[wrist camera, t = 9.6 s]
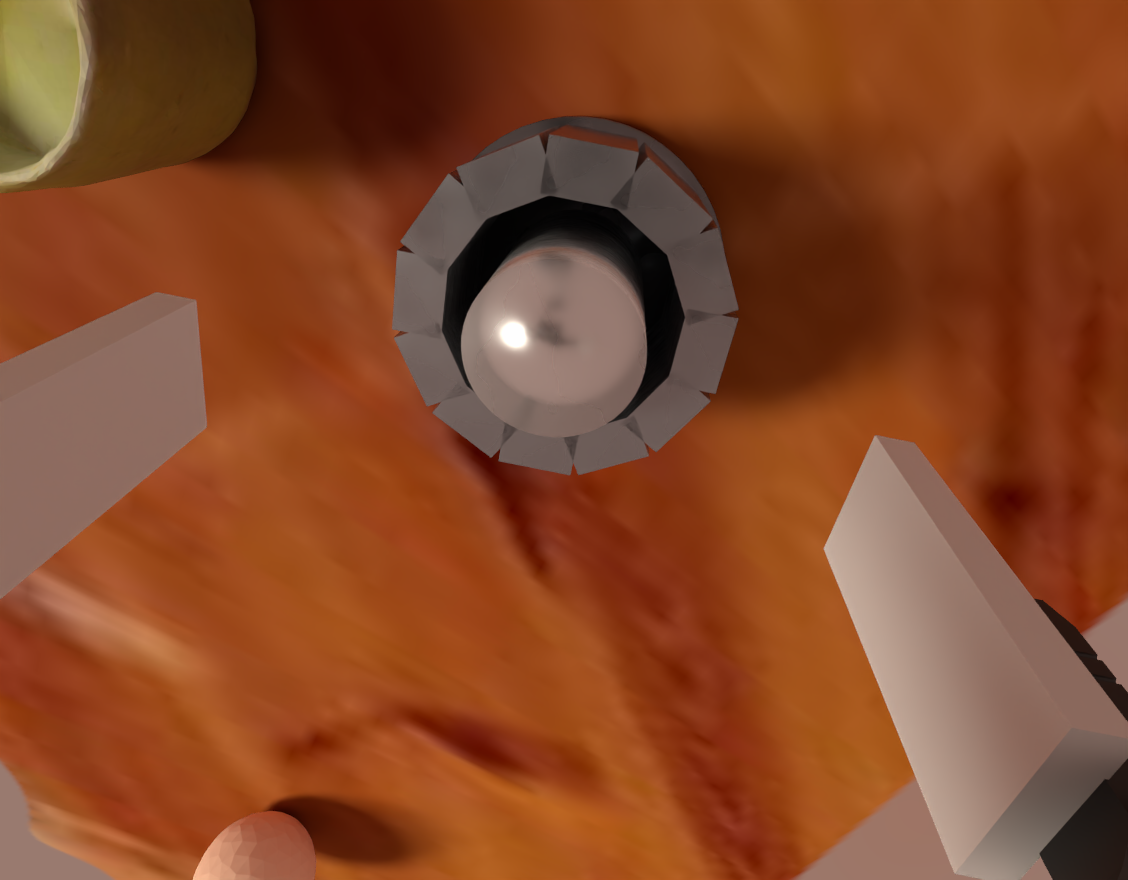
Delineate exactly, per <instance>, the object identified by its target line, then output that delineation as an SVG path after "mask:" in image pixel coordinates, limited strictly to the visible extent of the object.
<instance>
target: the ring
mask: <svg viewBox="0 0 1128 880" xmlns="http://www.w3.org/2000/svg"><path fill="white" fill-rule="evenodd" d="M456 168H457V170H455V171H453V172H451V173H449V174H448V175H447V177H446V178H445V179H444V181H443V182H442V184H441V185H440V186H439V188H438V189H437V191H436V192H435V193H434V195H433V196H432V198H431V199H430V201H429V202H428V203H427V205H426V206H425V208H424V209H423V210H422V212H421V213H420V215H419V216H418V217H417V219H416V220H415V222H414V223H413V224H412V226H411V227H410V229H409V230H408V231H407V233H406V234H405V236H404V237H403V239H402V240H401V241H400V242H401V243H402V244H404V246H403V247H401V248H400V249H398V250H397V263H396V278H395V294H394V310H393V326H392V329H393V330H398V331H400V332H399V333H398V334H397V335H396V336H395V337H394V339H395V341H396V343H397V345H398V347H399V349H400V351H401V353H402V356H403V358H404V360H405V362H406V364H407V366H408V368H409V370H410V372H411V374H412V376H413V378H414V380H415V383H416V385H417V387H418V389H419V391H420V393H421V395H422V397H423V399H424V401H425V403H426V405H427V406H430V405H433V404H436V403H438V404H437V406H436V408H435V409H434V411H433V412H432V413H433V414H434V415H436V416H437V417H438V418H440V419H441V420H442V421H444V422H445V423H446V424H448V425H449V426H450V427H452V428H453V429H454V430H456V431H457V432H458V433H459V434H461V435H462V436H463V437H465V438H466V439H467V440H469V441H470V442H471V443H473V444H474V445H475V446H477V447H478V448H479V449H481V450H482V451H483V452H484V453H486V454H487V455H488V456H490V457H492V456H493V455H494V454H495V453H496V452H497V451H498V450H499V449H500V448H501V450H500V456H499V461H501V462H506V463H511V464H516V465H521V466H526V467H531V468H536V469H541V470H546V471H551V472H556V473H561V474H566V475H570V474H571V470H572V465H573V463H574V465H575V468H576V470H577V473H578V475H580V474H584V473H588V472H592V471H595V470H599V469H603V468H606V467H610V466H614V465H617V464H621V463H625V462H629V461H632V460H636V459H640V458H643V457H647V456H649V448H648V446H649V447H651V448H652V449H653V450H654V451H656V452H657V451H658V450H659V449H660V448H661V447H662V446H663V445H664V444H665V443H666V442H667V441H669V440H670V439H671V438H672V437H673V436H674V435H675V434H676V433H677V432H678V431H679V430H680V429H681V428H683V427H684V426H685V425H686V424H687V423H688V422H689V421H690V420H691V419H692V418H693V417H694V416H695V415H696V414H698V413H699V412H700V411H701V410H702V409H703V408H704V407H705V406H706V405H707V404H708V403H709V402H710V401H711V400H710V396H709V393H714V394H716V390H717V387H718V384H719V381H720V377H721V374H722V371H723V368H724V364H725V361H726V358H727V355H728V351H729V348H730V345H731V342H732V338H733V335H734V332H735V329H736V325H737V322H738V316H737V314H736V312H735V311H736V310H739V308H738V304H737V300H736V296H735V292H734V288H733V285H732V281H731V277H730V273H729V269H728V265H727V261H726V257H725V253H724V249H723V245H722V241H721V237H720V233H719V230H718V227H717V225H716V224H715V222H714V221H713V218H712V217H711V215H710V214H709V212H708V210H707V209H706V207H705V206H704V204H703V203H702V201H701V199H700V198H699V196H698V195H697V193H696V192H695V190H694V189H693V188H692V187H691V186H690V185H689V184H688V183H686V182H685V181H684V180H683V179H682V178H681V177H680V176H679V175H678V174H677V173H676V172H675V171H674V170H673V169H672V168H671V167H670V166H669V165H668V164H667V163H666V162H665V161H664V160H663V159H662V158H661V157H659V156H658V155H657V154H656V153H655V152H654V151H653V150H652V149H651V148H650V147H649V146H648V145H647V144H646V143H645V142H643V144H642V145H641V146H640V147H639V148H638V142H637V138H635V137H630V136H625V135H620V134H615V133H610V132H605V131H600V130H595V129H590V128H585V127H580V126H575V125H570V124H567V125H565V126H563V127H560V125H558V126H555V127H553V128H550V129H548V130H545V131H543V132H540V133H538V134H535V135H533V136H530V137H527V138H525V139H522V140H520V141H517V142H515V143H512V144H510V145H507V146H505V147H502V148H500V149H497V150H495V151H492V152H490V153H488V154H486V155H483V156H481V157H479V158H477V159H474V160H472V161H470V162H468V163H465V164H463V165H461V166H459V167H456ZM549 195H550V196H555V197H560V198H565V199H570V200H575V201H580V202H585V203H590V204H595V205H600V206H605V207H610V208H615V209H618V210H619V211H620V212H621V213H622V214H623V215H624V216H625V217H626V218H627V219H629V220H630V221H631V222H632V223H633V224H634V225H635V226H636V227H637V228H638V229H639V230H641V231H642V232H643V233H644V234H645V235H646V236H647V237H648V238H649V239H650V240H651V241H652V242H654V243H655V244H656V245H657V246H658V247H659V248H660V249H661V250H662V251H663V252H664V253H666V254H667V256H668V260H669V263H670V267H671V270H672V277H671V281H670V285H669V289H668V293H667V297H666V301H665V305H664V309H663V313H662V317H661V319H660V320H659V321H658V322H657V323H656V324H655V325H654V326H653V327H652V328H651V329H650V330H649V331H648V332H647V333H646V341H647V361H646V367H645V373H644V376H643V379H642V382H641V384H640V386H639V388H638V390H637V393H636V394H635V396H634V397H633V399H632V400H631V402H630V403H629V404H628V405H627V407H626V408H625V409H624V410H623V411H622V412H621V413H620V414H619V415H618V416H616V417H615V418H614V419H613V420H611V421H610V422H608V423H607V424H605V425H603V426H601V427H599V428H597V429H595V430H593V431H590V432H587V433H585V434H581V435H576V436H570V437H545V436H538V435H534V434H531V433H527V432H524V431H522V430H519V429H517V428H515V427H513V426H511V425H509V424H507V423H505V422H504V421H503V420H501V419H500V418H498V417H497V416H496V415H494V414H493V413H492V412H491V411H490V410H489V409H488V408H487V407H486V406H485V405H484V404H483V403H482V401H481V400H480V399H479V398H478V396H477V395H476V393H475V392H474V390H473V388H472V386H471V384H470V382H469V381H468V378H467V375H466V372H465V370H464V365H463V361H462V353H461V336H462V330H463V325H464V322H465V319H466V316H467V313H468V311H469V309H470V307H471V305H472V303H473V301H474V300H475V298H476V297H477V296H478V294H479V293H480V291H481V290H482V289H483V287H482V284H481V282H480V280H481V272H482V264H483V256H484V247H485V239H486V231H487V230H488V229H489V228H490V226H491V225H492V224H493V222H494V221H495V220H496V218H497V217H498V216H499V215H500V213H503V212H506V211H508V210H511V209H514V208H517V207H519V206H522V205H525V204H527V203H530V202H533V201H535V200H538V199H541V198H543V197H546V196H549Z"/></svg>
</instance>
